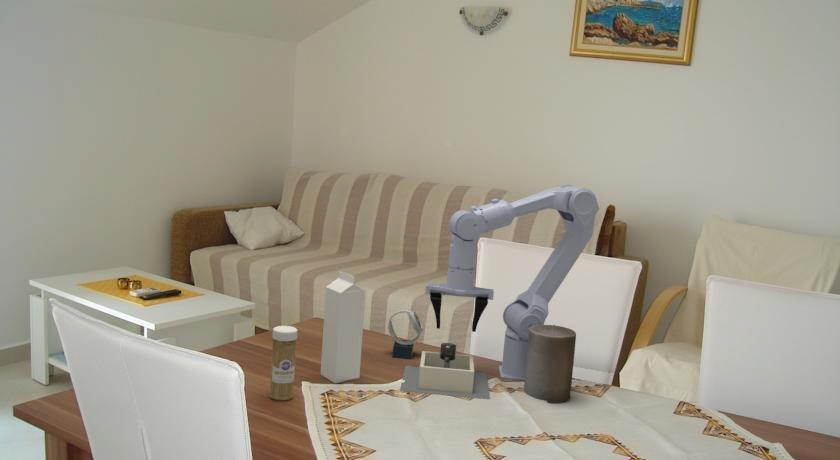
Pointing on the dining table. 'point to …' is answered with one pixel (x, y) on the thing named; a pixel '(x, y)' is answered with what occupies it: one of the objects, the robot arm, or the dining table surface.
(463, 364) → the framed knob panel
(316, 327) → the dining table surface
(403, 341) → the watch
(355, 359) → the milk
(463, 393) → the slate mat
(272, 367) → the sprinkles bottle
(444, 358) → the plunger
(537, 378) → the pillar candle
